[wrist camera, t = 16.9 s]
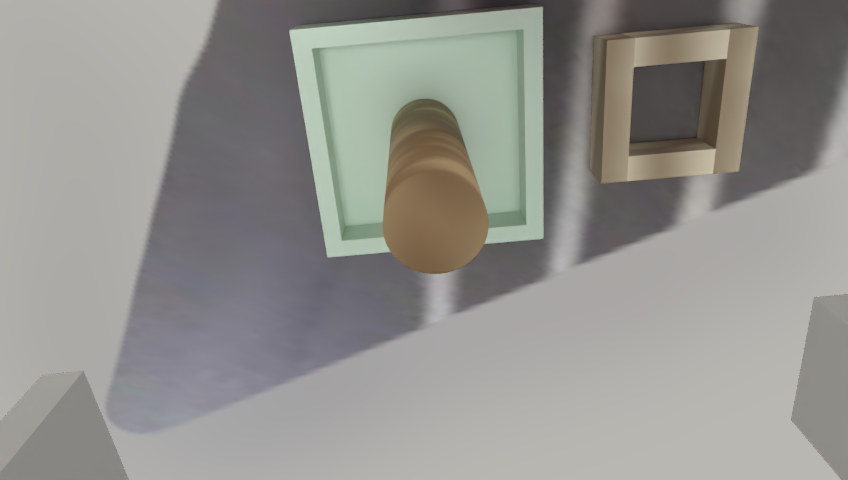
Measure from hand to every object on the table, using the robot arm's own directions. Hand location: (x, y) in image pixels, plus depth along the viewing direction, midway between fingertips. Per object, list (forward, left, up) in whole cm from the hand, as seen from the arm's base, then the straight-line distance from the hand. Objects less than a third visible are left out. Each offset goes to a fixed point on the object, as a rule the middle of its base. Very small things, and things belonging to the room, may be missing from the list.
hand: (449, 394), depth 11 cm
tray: (0, +2, -27) cm, 27 cm away
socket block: (-14, +1, -27) cm, 30 cm away
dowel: (0, +2, -26) cm, 26 cm away
